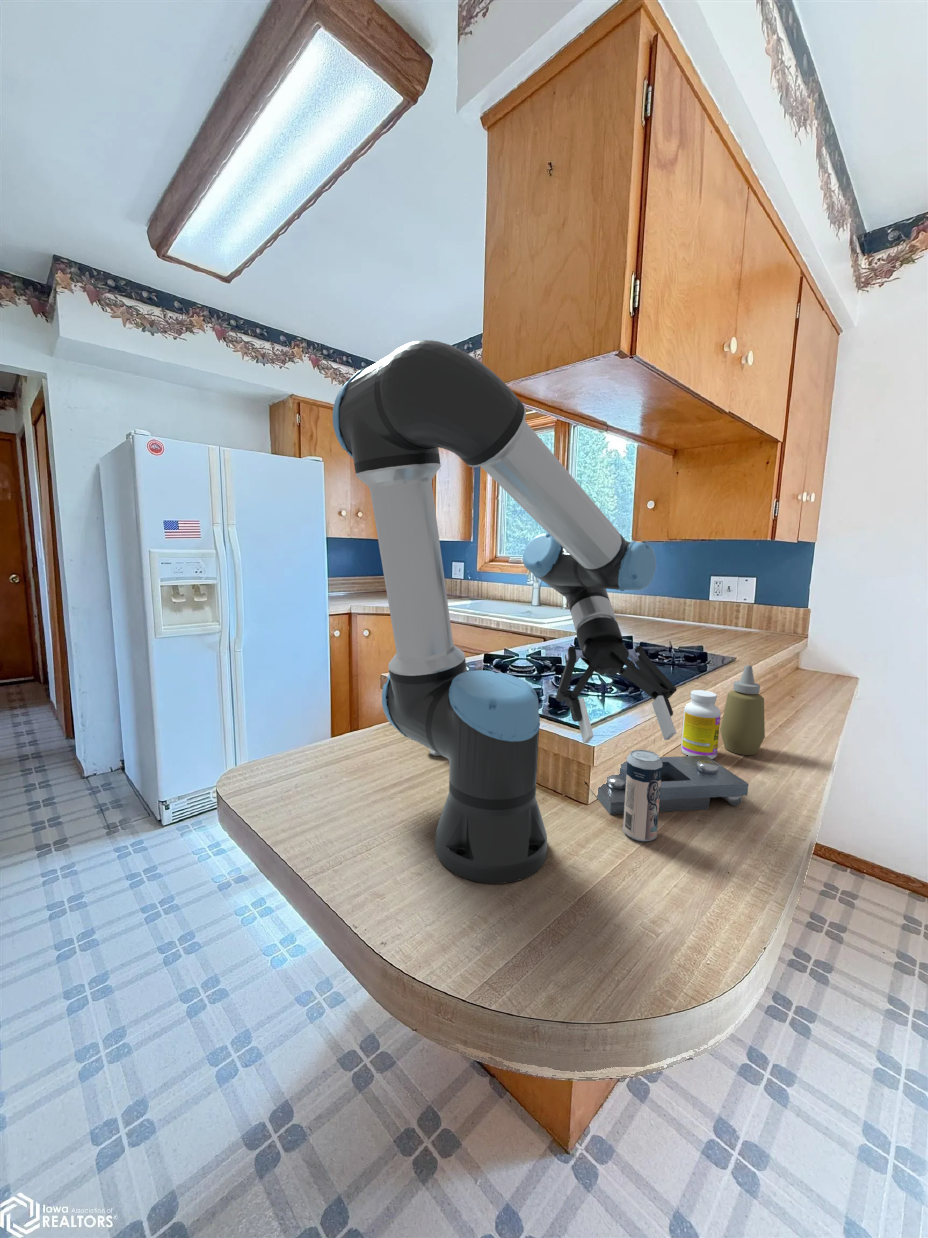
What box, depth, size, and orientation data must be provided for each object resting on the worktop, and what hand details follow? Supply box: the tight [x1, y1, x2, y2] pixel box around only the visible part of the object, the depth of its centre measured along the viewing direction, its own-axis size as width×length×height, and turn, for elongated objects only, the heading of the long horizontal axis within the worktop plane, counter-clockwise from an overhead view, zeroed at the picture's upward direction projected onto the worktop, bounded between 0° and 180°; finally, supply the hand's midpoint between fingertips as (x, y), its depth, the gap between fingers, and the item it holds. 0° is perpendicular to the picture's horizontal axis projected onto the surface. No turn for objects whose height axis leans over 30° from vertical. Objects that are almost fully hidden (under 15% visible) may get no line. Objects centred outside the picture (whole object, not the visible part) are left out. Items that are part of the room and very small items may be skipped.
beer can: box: [622, 749, 663, 842], centre depth 69 cm, size 5×5×12 cm
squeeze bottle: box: [719, 665, 766, 756], centre depth 100 cm, size 8×8×18 cm
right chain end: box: [619, 755, 749, 807], centre depth 82 cm, size 18×11×5 cm, turn 97°
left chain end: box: [596, 773, 711, 815], centre depth 81 cm, size 16×11×3 cm, turn 97°
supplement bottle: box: [680, 689, 722, 760], centre depth 98 cm, size 7×7×13 cm
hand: (630, 738), depth 76 cm, fingers open, 13 cm apart
